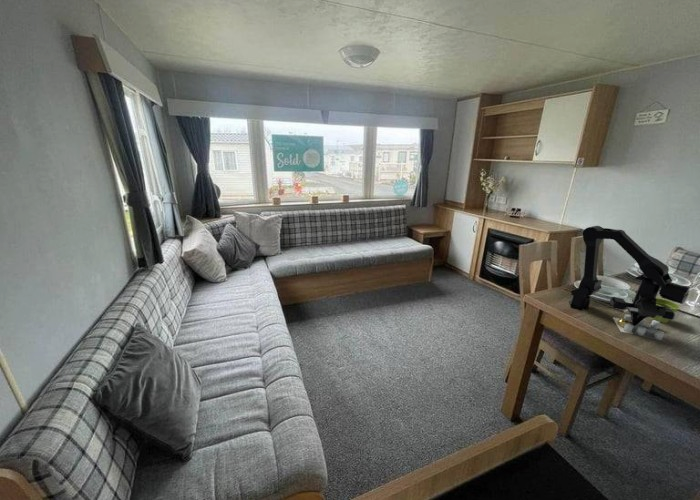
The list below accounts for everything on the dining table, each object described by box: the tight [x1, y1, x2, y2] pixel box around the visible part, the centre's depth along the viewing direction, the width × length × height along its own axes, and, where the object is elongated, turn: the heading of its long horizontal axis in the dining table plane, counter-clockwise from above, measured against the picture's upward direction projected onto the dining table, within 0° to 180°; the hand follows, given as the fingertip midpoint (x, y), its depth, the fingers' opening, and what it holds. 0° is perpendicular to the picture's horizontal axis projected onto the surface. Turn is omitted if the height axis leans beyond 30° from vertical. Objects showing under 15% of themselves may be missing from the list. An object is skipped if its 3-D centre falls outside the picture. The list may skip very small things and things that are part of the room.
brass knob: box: [616, 317, 632, 328], centre depth 124 cm, size 4×4×3 cm
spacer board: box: [612, 313, 666, 343], centre depth 122 cm, size 15×12×4 cm
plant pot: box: [648, 297, 681, 324], centre depth 129 cm, size 9×9×9 cm
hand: (633, 325), depth 123 cm, fingers closed
